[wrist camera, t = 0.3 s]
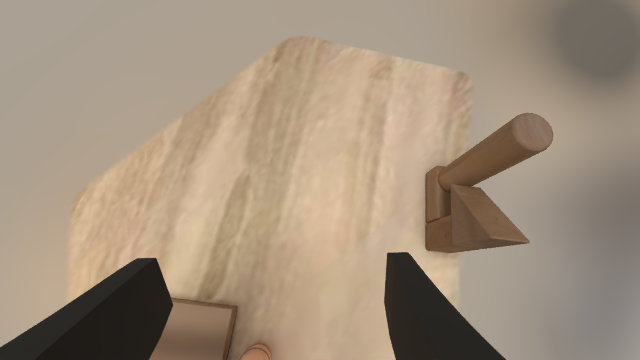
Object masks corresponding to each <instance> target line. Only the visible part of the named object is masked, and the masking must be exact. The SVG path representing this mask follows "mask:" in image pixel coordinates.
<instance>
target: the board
mask: <svg viewBox="0 0 640 360" xmlns="http://www.w3.org/2000/svg"><path fill="white" fill-rule="evenodd" d="M171 300H172V302H173V307H172V310H171V313H170V315H169V318H168V321H167V323H166V326H165V328H164V330H163V333H162V335H161V338H160V340H159V342H158V344H157V345H156V347H155V349H154V351H153V353H152V355H151V357H150V359H149V360H227V357H228V352H229V347H230V342H231V337H232V332H233V326H234V321H235V316H236V311H237V306H229V305H221V304H213V303H206V302H198V301H190V300H182V299H174V298H171Z"/></svg>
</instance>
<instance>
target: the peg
mask: <svg viewBox="0 0 640 360" xmlns="http://www.w3.org/2000/svg"><path fill="white" fill-rule="evenodd" d="M240 360H272V359H271V354H270V352H269V350H268V348H267V347H266V346H264V345H261V344H258V345H253V346H251V347H249V348H248V349H247V350H246V352H245V353H244V354H243V355H242V357H241V358H240Z"/></svg>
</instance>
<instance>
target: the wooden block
mask: <svg viewBox="0 0 640 360" xmlns="http://www.w3.org/2000/svg"><path fill="white" fill-rule="evenodd" d="M552 140H553V131H552V128H551V126H550V125H549V123H548V122H547V121H546V120H545V119H544V118H542V117H541V116H539V115H536V114H533V113H524V114H520V115H518V116H516V117H515V118H513V119H512V120H511V121H509V122H508V123H506V124H505V125H504V126H502V127H501V128H499V129H498V130H497V131H495V132H494V133H492V134H491V135H490V136H488V137H487V138H486V139H484V140H483V141H481V142H480V143H479V144H477V145H476V146H474V147H473V148H472V149H470V150H469V151H467V152H466V153H465V154H463V155H462V156H460V157H459V158H458V159H456V160H455V161H453V162H452V163H451V164H449V165H448V166H446V167H443V166H436V167H435V168H433V169H432V170H431V171H429V172H428V173H427V174H426V222H427V223H428V224H427V225H426V249H427V250H429V251H437V252H445V253H455V252H463V251H470V250H479V249H486V248H494V247H502V246H510V245H518V244H526V243H529V240H528V239H527V238H526V237H525V236H524V235H523V234H522V233H521V231H520V230H519V229H518V228H517V227H516V226H515V225H514V224H513V223H512V222H511V221H510V220H509V218H508V217H507V216H506V215H505V214H504V213H503V212H502V211H501V210H500V209H499V208H498V207H497V206H496V204H494V202H493V201H492V200H491V199H490V198H489V197H488V196H487V195H486V194H485V192H484V191H483V190H482V189H481V188H478V187H471V186H473V185H475V184H477V183H479V182H481V181H483V180H485V179H487V178H489V177H491V176H493V175H495V174H497V173H499V172H501V171H503V170H506V169H507V168H509V167H512V166H514V165H516V164H518V163H520V162H522V161H524V160H526V159H528V158H530V157H532V156H534V155H536V154H538V153H540V152H542V151H544V150H546V149H547V148H548V147H549V146H550V144H551V143H552Z"/></svg>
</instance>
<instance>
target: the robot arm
mask: <svg viewBox="0 0 640 360" xmlns="http://www.w3.org/2000/svg"><path fill="white" fill-rule="evenodd" d="M384 303H385V310H386V317H387V323H388V329H389V335H390V339H391V343H392V347H393V350H394V354H395V358H396V360H506V359H505V358H504V357H503V356H502V355H501V354H499V353H498V352H497V351H496V350H495V349H494V348H493V347H492V346H491V345H490V344H489V343H488V342H487V341H486V340H485V339H484V338H483V337H482V336H481V335H480V334H479V333H478V332H477V331H476V330H475V329H474V328H473V327H472V326H471V325H470V324H469V323H468V321H467V320H466V319H465V318H464V317H463V316H462V315H461V314H460V313H459V312H458V311H457V310H456V308H455V307H454V306H453V305H452V304H451V303H450V302H449V301H448V300H447V298H446V297H445V296H444V295H443V294H442V293H441V292H440V291H439V289H438V288H437V287H436V286H435V285H434V283H433V282H432V281H431V280H430V279H429V277H428V276H427V275H426V274H425V273H424V271H423V270H422V269H421V268H420V266H419V265H418V264H417V263H416V261H415V260H414V259H413V257H412V256H411V255H410V254H409V253H408V252H398V253H387V266H386V281H385V297H384ZM172 307H173V302H172V300H171V297H170V294H169V292H168V289H167V286H166V283H165V281H164V278H163V275H162V272H161V270H160V267H159V264H158V262H157V259H156V258H137V259H136V260H134V261H132V262H130V263H129V264H127V265H126V266H124V267H122V268H121V269H119V270H118V271H116V272H115V273H113V274H112V275H110V276H109V277H107V278H106V279H104V280H103V281H101V282H100V283H98V284H97V285H95V286H94V287H93V288H91V289H90V290H88V291H87V292H85V293H84V294H82V295H81V296H79V297H78V298H76V299H75V300H73V301H72V302H70V303H69V304H67V305H66V306H64V307H63V308H61V309H60V310H58V311H57V312H55V313H54V314H52V315H51V316H49V317H48V318H46V319H44V320H43V321H41V322H40V323H38V324H37V325H35V326H33V327H32V328H30V329H29V330H27V331H26V332H24V333H22V334H21V335H19V336H18V337H16V338H15V339H13V340H12V341H10V342H8V343H7V344H5V345H3V346H2V347H0V360H149V359H150V357H151V355H152V353H153V351H154V349H155V347H156V345H157V344H158V342H159V340H160V338H161V335H162V333H163V330H164V328H165V326H166V323H167V321H168V318H169V315H170V313H171V310H172Z"/></svg>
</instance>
